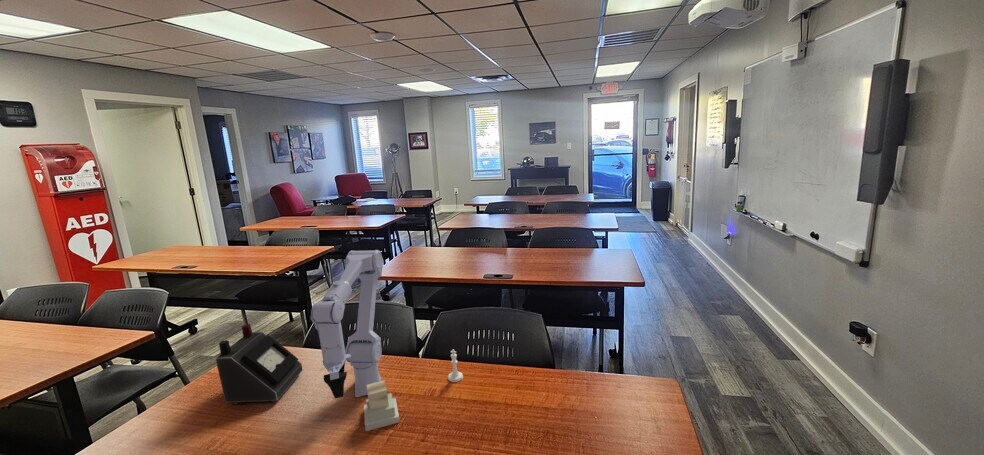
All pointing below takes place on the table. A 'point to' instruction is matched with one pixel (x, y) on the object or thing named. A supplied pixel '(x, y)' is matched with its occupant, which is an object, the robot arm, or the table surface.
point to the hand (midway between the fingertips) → (339, 388)
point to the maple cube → (377, 395)
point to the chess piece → (454, 369)
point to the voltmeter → (255, 368)
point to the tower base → (381, 422)
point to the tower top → (381, 410)
